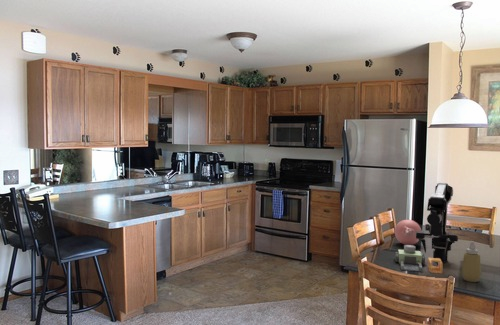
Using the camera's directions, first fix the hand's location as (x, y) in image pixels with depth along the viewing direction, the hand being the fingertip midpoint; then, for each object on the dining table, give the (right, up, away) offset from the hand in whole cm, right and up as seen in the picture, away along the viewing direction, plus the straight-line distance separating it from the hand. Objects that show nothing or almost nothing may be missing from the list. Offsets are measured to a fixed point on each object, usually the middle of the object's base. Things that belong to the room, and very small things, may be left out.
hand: (435, 253), depth 208 cm
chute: (0, -9, 0) cm, 9 cm away
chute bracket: (-10, -8, +4) cm, 14 cm away
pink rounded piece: (+4, -6, +48) cm, 49 cm away
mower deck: (-7, -8, +14) cm, 18 cm away
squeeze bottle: (+10, -10, -14) cm, 20 cm away
